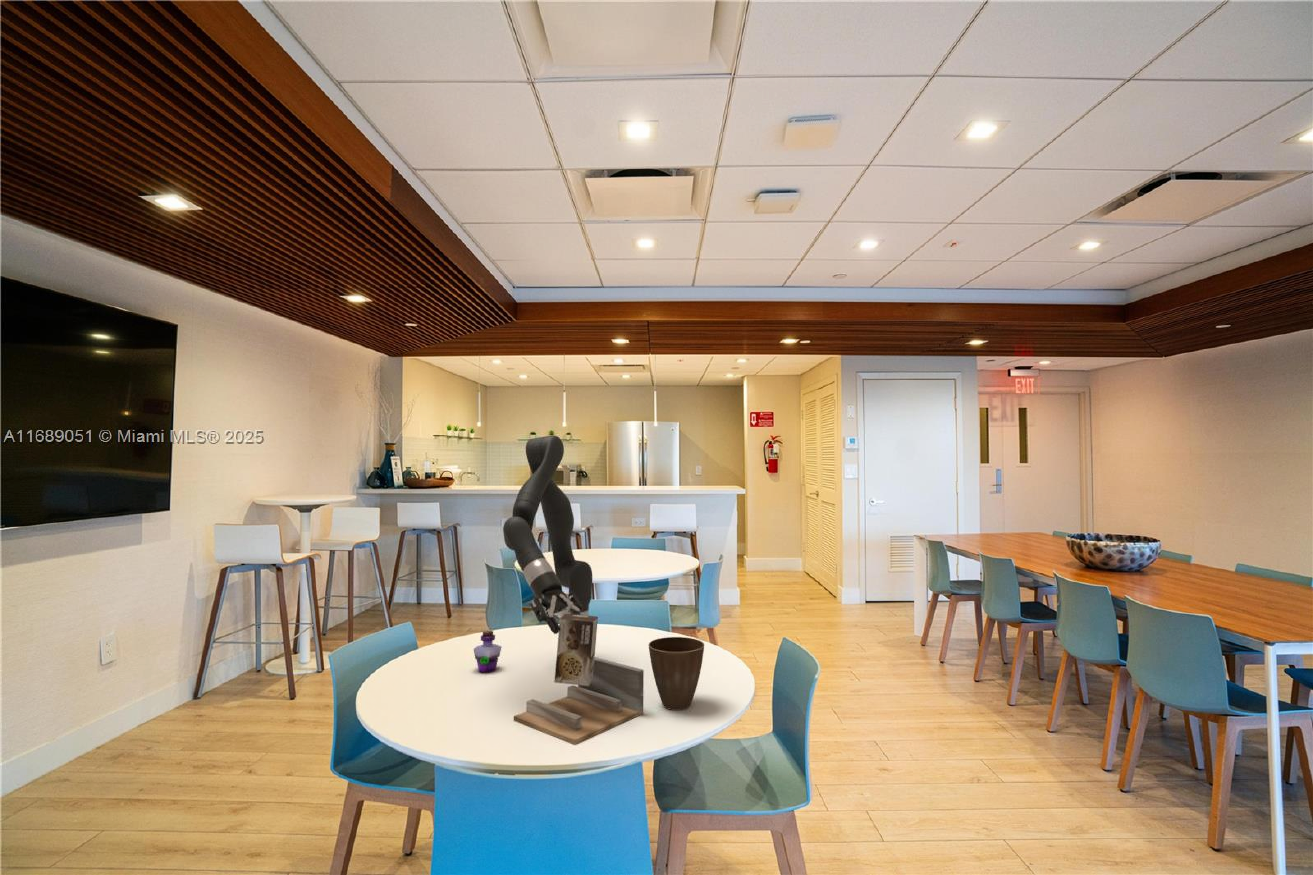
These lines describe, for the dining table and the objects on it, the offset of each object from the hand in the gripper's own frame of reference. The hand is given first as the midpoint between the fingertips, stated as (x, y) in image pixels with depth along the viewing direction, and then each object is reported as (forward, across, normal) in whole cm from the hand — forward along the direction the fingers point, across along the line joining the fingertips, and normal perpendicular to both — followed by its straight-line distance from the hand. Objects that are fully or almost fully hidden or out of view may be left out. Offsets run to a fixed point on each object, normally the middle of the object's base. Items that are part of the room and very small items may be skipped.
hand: (570, 629), depth 159 cm
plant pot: (+28, +22, +2) cm, 35 cm away
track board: (+18, 0, +12) cm, 21 cm away
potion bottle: (-17, +8, +48) cm, 52 cm away
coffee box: (+10, 0, +8) cm, 13 cm away
